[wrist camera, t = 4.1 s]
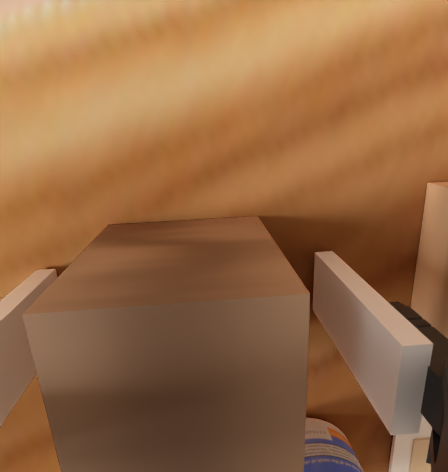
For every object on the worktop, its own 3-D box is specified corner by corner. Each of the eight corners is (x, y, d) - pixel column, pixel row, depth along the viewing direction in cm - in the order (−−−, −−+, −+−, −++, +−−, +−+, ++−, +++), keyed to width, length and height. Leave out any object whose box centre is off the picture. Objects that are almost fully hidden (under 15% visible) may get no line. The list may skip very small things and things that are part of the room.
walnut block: (127, 351, 15) (73, 520, 9) (108, 224, 14) (22, 314, 7) (259, 341, 16) (303, 496, 9) (257, 215, 14) (310, 293, 7)
